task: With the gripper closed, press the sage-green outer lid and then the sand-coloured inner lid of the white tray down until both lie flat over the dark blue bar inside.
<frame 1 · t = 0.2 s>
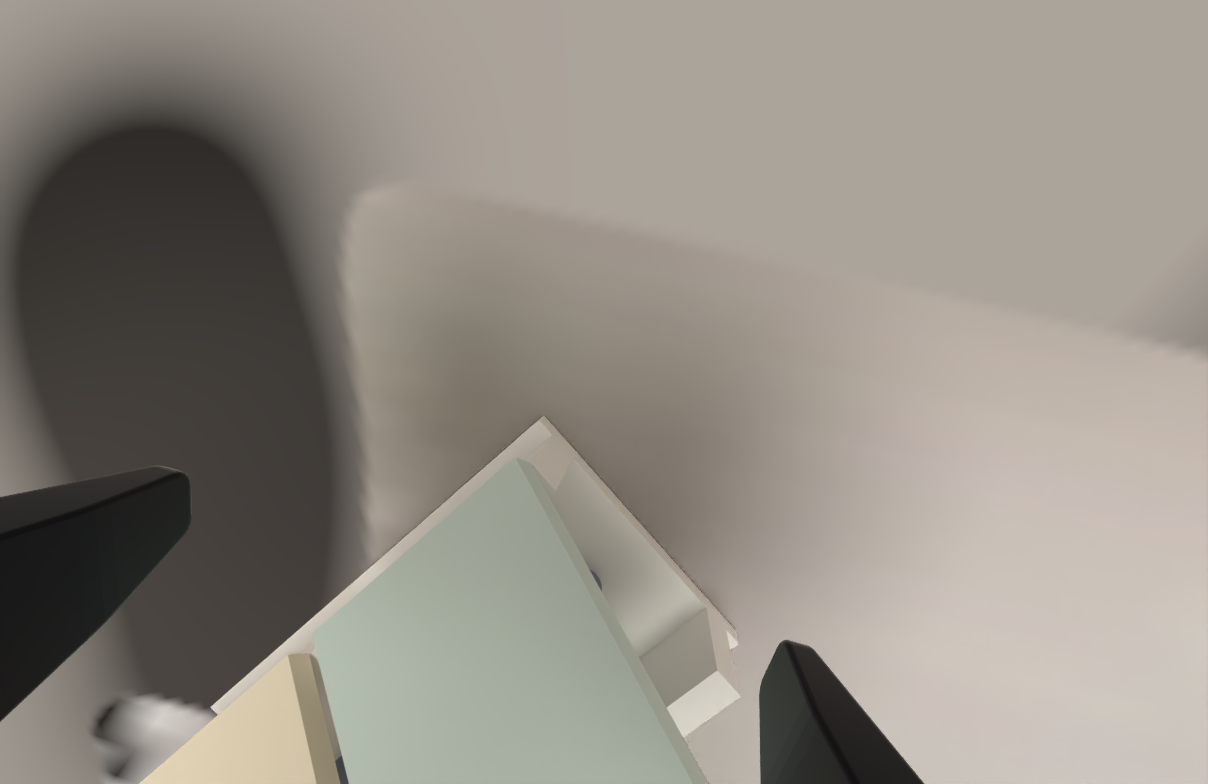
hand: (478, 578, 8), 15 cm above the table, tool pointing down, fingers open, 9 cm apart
lid outer: (478, 706, 16), point 8 cm above the table, hinge at 35.0°
white tray: (468, 662, 25), on the table
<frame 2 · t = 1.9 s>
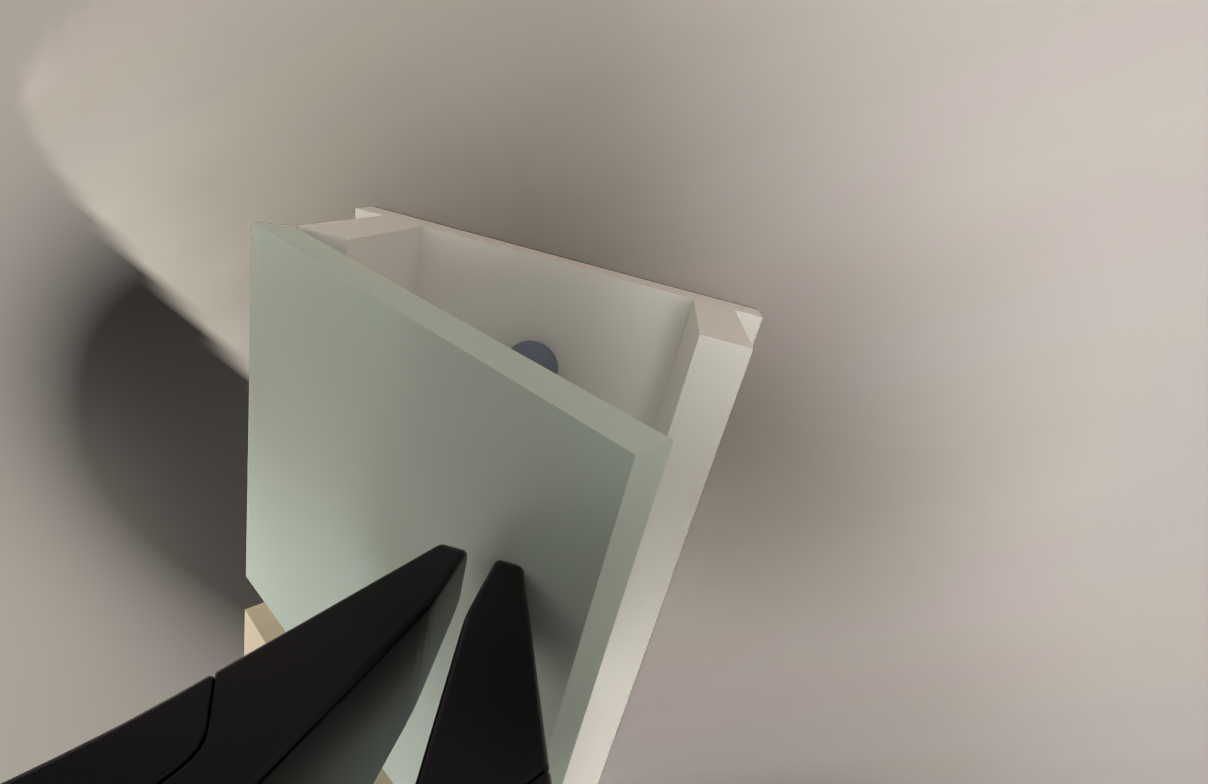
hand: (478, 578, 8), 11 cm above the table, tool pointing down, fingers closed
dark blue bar: (489, 561, 19), point 1 cm above the table
lid outer: (380, 533, 11), point 8 cm above the table, hinge at 33.4°, touching gripper
white tray: (505, 529, 21), on the table
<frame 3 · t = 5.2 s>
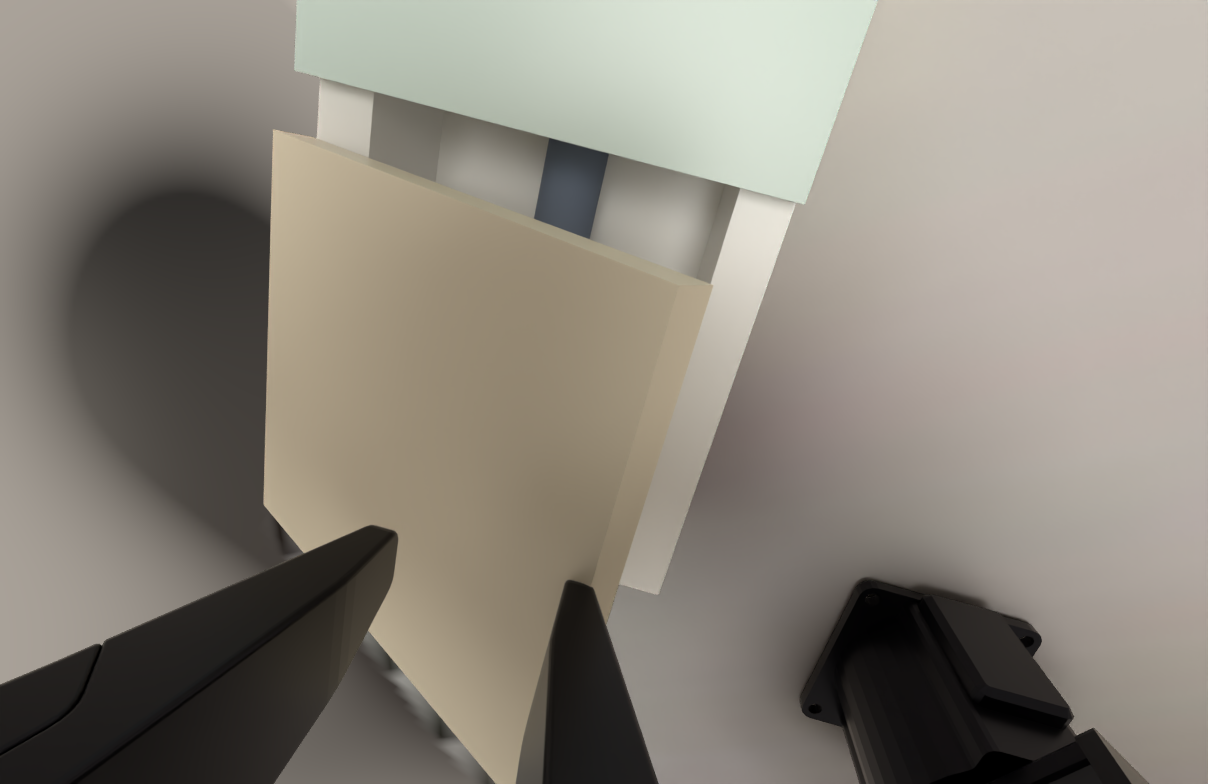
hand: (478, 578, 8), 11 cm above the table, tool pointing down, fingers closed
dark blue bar: (574, 171, 15), point 1 cm above the table
lid inner: (404, 435, 11), point 8 cm above the table, hinge at 33.5°, touching gripper
white tray: (584, 171, 17), on the table
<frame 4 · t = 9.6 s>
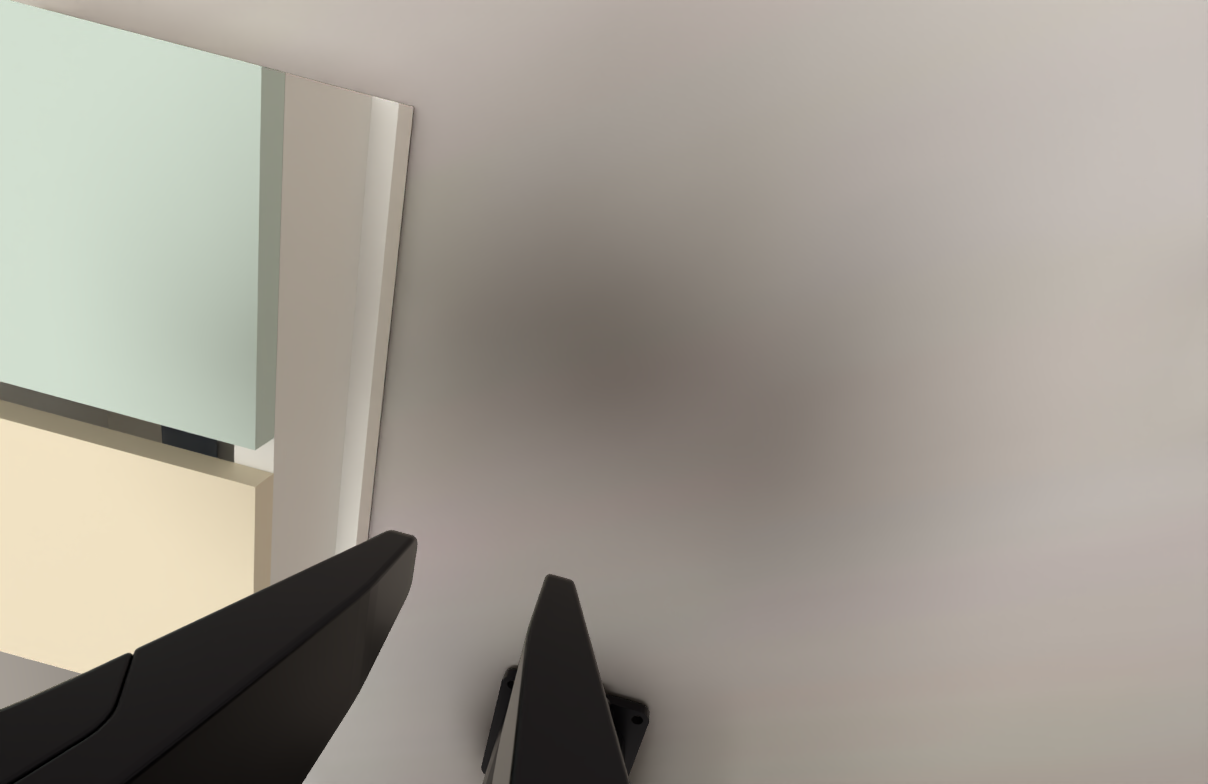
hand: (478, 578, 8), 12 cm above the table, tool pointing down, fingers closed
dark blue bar: (188, 373, 20), point 1 cm above the table
lid inner: (103, 562, 18), point 5 cm above the table, hinge at -0.6°, touching white tray
lid outer: (68, 225, 14), point 5 cm above the table, hinge at -0.5°
white tray: (227, 357, 21), on the table
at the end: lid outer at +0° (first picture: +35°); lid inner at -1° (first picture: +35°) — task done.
